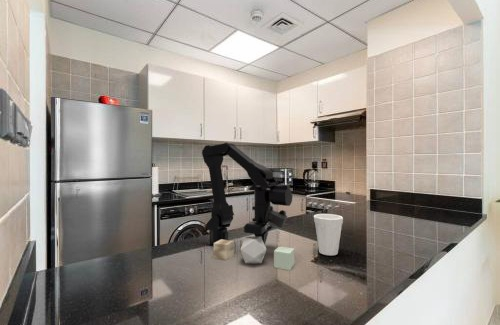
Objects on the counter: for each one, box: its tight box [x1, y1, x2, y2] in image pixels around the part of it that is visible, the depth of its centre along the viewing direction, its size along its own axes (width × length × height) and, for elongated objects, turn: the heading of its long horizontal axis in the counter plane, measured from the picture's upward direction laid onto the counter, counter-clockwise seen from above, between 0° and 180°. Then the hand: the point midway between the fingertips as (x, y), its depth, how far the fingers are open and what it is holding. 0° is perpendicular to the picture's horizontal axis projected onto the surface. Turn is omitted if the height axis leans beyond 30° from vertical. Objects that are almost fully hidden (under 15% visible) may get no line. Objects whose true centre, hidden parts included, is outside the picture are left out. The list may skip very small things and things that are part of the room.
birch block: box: [213, 239, 235, 261], centre depth 83 cm, size 5×5×5 cm
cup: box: [313, 213, 344, 256], centre depth 86 cm, size 10×10×13 cm
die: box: [240, 236, 267, 265], centre depth 79 cm, size 8×9×10 cm
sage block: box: [273, 246, 295, 271], centre depth 75 cm, size 5×5×5 cm
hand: (262, 247), depth 86 cm, fingers closed
